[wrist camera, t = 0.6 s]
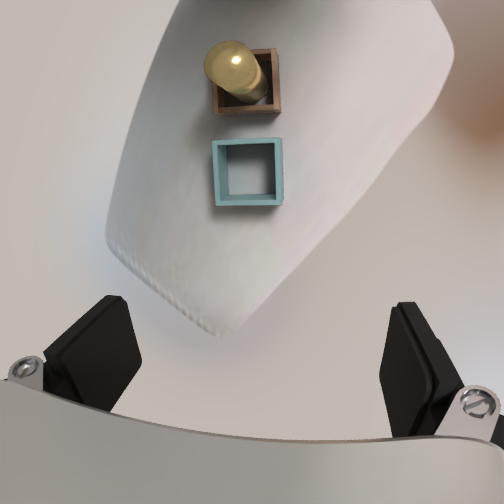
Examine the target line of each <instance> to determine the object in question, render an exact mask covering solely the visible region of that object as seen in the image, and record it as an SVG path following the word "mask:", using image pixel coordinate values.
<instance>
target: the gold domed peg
mask: <svg viewBox="0 0 504 504" xmlns="http://www.w3.org/2000/svg"><path fill="white" fill-rule="evenodd" d="M204 68H205V72H206V74H207V76H208V77H209V78H210V79H211V80H212V81H213V82H214V83H216V84H217V85H219V86H220V87H222V88H223V89H225V90H226V91H227V92H229V93H230V94H232V95H233V96H234V97H236V98H237V99H239V100H240V101H243V102H255V101H257V100H259V99H261V98H262V97H263V96H264V94H265V93H266V91H267V87H268V83H267V79H266V77H265V75H264V73H263V72H262V70H261V68H260V66H259V64H258V62H257V61H256V59H255V57H254V55H253V53H252V52H251V50H250V49H249V48H248V47H247V46H246V45H245V44H243V43H241V42H238V41H225V42H222V43H219V44H217V45H216V46H214V47H213V48H212V49H211V50H210V51H209V52H208V54H207V56H206V58H205V62H204Z"/></svg>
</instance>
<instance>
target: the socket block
mask: <svg viewBox="0 0 504 504" xmlns="http://www.w3.org/2000/svg"><path fill="white" fill-rule="evenodd" d="M251 52H252V53H253V55H254V57H255V59H256V61H272V78H273V99H274V105H252V106H237V107H225V101H224V89H223V88H222V87H220V86H219V85H217V84H216V83H214V82H213V81H212V92H213V113H214V114H217V115H220V116H224V115H238V114H254V113H279V112H281V101H280V81H279V62H278V54H277V50H276V48H274V49H257V50H251Z"/></svg>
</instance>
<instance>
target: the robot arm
mask: <svg viewBox="0 0 504 504" xmlns="http://www.w3.org/2000/svg"><path fill="white" fill-rule="evenodd" d="M43 353H44V355H45V357H46V360H47V361H46V362H45V363H43V360H42V359H41V358H39V357H37V356H27V357H24V358H21V359H19V360H18V361H16V362H15V363H14V364H13V365H12V366H11V367H10V369H9V373H8V379H4V380H0V504H504V416H503V415H500V414H499V413H500V407H501V404H500V400H499V399H498V397H497V395H496V394H495V393H494V392H492V391H491V390H490V389H488V388H486V387H482V386H478V385H470V386H467V387H465V386H464V384H463V382H462V380H461V378H460V376H459V374H458V372H457V371H456V369H455V367H454V365H453V363H452V361H451V359H450V358H449V356H448V354H447V352H446V350H445V349H444V347H443V345H442V343H441V342H440V340H439V339H437V338H436V336H435V335H434V333H433V331H432V330H431V328H430V326H429V324H428V323H427V321H426V319H425V318H424V316H423V314H422V313H421V311H420V309H419V308H418V306H417V304H416V303H415V302H399V303H398V304H397V307H392V310H391V315H390V321H389V327H388V332H387V338H386V343H385V348H384V353H383V357H382V362H381V367H380V372H379V377H380V383H381V387H382V391H383V395H384V400H385V404H386V408H387V413H388V417H389V422H390V427H391V432H392V436H393V438H381V439H363V440H317V441H314V440H311V441H309V440H281V439H263V438H252V437H241V436H231V435H223V434H215V433H208V432H201V431H194V430H188V429H183V428H177V427H171V426H166V425H161V424H157V423H152V422H147V421H143V420H138V419H134V418H130V417H126V416H122V415H118V414H115V413H111V412H110V411H111V410H112V408H113V407H114V405H115V404H116V402H117V401H118V399H119V398H120V396H121V395H122V393H123V391H124V390H125V389H126V387H127V386H128V385H129V383H130V382H131V380H132V379H133V377H134V376H135V374H136V373H137V371H138V370H139V368H140V367H141V364H142V358H141V354H140V351H139V347H138V344H137V340H136V336H135V333H134V329H133V325H132V321H131V317H130V313H129V310H128V305H127V302H126V301H125V300H123V298H122V297H121V296H113V295H107V296H105V297H104V298H103V299H101V300H100V301H99V302H98V303H97V304H96V305H95V306H93V307H92V308H91V309H90V310H89V311H88V312H87V313H85V314H84V315H83V316H82V317H81V318H80V319H79V320H78V321H76V322H75V323H74V324H73V325H72V326H71V327H70V328H69V329H68V330H66V331H65V332H64V333H63V334H62V335H61V336H60V337H59V338H58V339H56V340H55V341H54V342H53V343H52V344H51V345H50V346H49V347H48V348H47V349H46V350H45V351H44V352H43Z"/></svg>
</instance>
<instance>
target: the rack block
mask: <svg viewBox="0 0 504 504" xmlns="http://www.w3.org/2000/svg"><path fill="white" fill-rule="evenodd" d="M265 143H274V144H275V174H276V194H244V195H229V187H228V167H227V147H226V145H240V144H265ZM212 153H213V171H214V188H215V204H216V206H234V205H282V202H283V199H284V188H283V152H282V138H280V137H273V138H246V139H229V140H214V141H212Z"/></svg>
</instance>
